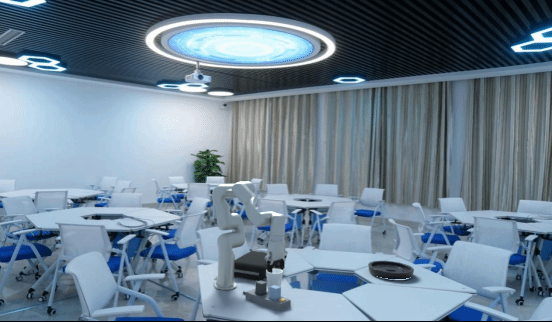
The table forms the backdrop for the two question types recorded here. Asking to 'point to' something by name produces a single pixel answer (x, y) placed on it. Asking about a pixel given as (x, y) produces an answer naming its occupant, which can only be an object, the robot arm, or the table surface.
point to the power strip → (266, 297)
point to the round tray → (390, 269)
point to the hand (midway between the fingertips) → (275, 270)
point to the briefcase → (253, 266)
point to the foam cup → (274, 278)
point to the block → (275, 293)
